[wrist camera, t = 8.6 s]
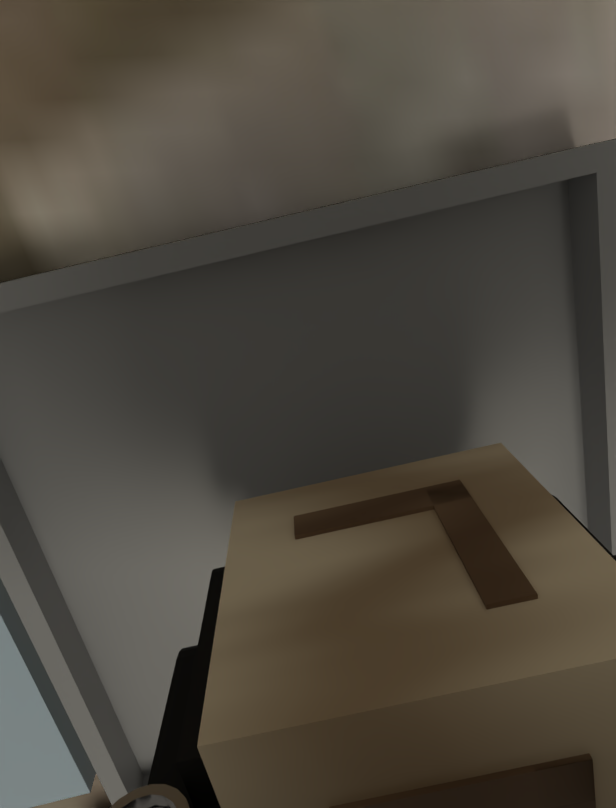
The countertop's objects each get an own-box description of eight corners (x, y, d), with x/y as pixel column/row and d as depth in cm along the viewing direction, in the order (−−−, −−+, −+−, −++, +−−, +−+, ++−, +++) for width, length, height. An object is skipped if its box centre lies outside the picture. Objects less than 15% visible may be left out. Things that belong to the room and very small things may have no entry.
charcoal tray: (577, 147, 12) (621, 137, 10) (603, 660, 16) (636, 702, 15) (-82, 301, 11) (-130, 313, 10) (135, 775, 16) (124, 830, 15)
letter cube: (500, 439, 10) (699, 641, 5) (524, 653, 12) (694, 956, 7) (234, 498, 10) (193, 748, 5) (295, 702, 12) (306, 1032, 7)
